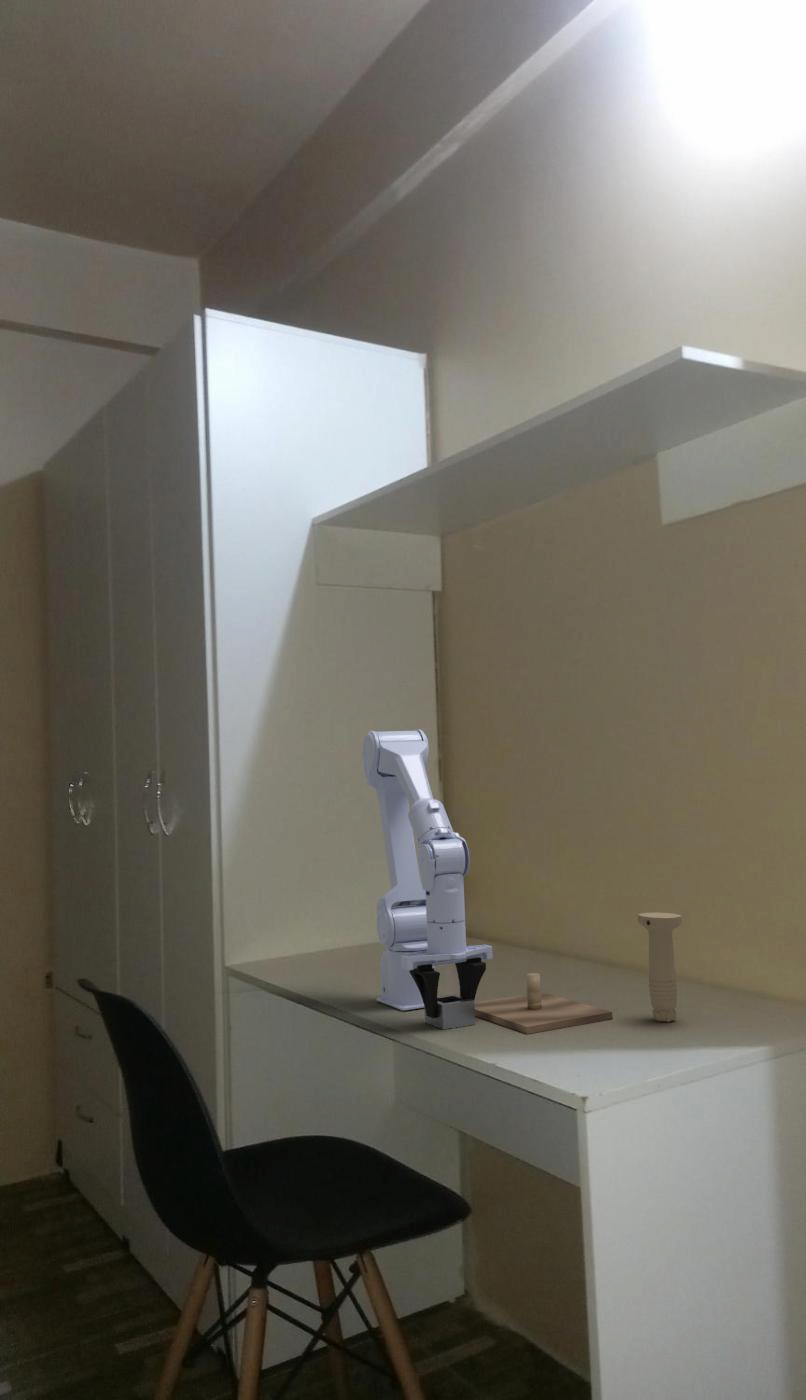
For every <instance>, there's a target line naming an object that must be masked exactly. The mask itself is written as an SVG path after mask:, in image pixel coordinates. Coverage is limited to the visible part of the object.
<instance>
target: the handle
mask: <svg viewBox="0 0 806 1400" xmlns="http://www.w3.org/2000/svg"><path fill="white" fill-rule="evenodd" d="M637 922H638V923H639V924H640V925H641V926H642V927H644V928H645V929H646V930H647V931H648V932H647V933H648V949H649V950H648V983H649V984H648V988H649V997H650V1003H651V1007H652V1008H653V1009H652V1010H651V1011H652V1015H653V1019H654V1020H655V1021H657V1022H666V1023H670V1022H673V1021H676V1020H677V1011H676V1008H677V1006H678V1005H677V1003H678V982H677V981H678V980H677V970H676V969H677V968H676V961H675V953H674V952H675V951H674V941H673V931H674V930H675V929H677V928H679V927H680V926H681V925H682V923H683V922H682V915H680V914H678V913H671V912H655V911H654V912H643V913H638V914H637Z"/></svg>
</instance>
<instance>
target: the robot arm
mask: <svg viewBox="0 0 806 1400" xmlns="http://www.w3.org/2000/svg"><path fill="white" fill-rule="evenodd" d="M361 752H362V761H363V762H362V763H363V768H364V774H365V778H366V783H367V785H368V786H370V787H372V788H374V789H375V790H376V795H377V800H378V807H379V812H380V813H379V814H380V818H381V828H382V832H383V835H382V836H383V840H384V847H385V848H384V849H385V855H386V863H387V869H388V870H387V871H388V876H389V882H390V883H389V884H390V888H389V889H388V890H387V891H386V892H385V893H384V894H383V895H382V896H381V897H380V898H379V900H378V902H377V903H376V933H377V937H378V940H379V942H380V944H382V946H383V947H384V948H385V950H384V951H383V953H382V955H381V957H380V962H379V963H380V965H379V967H380V991H381V996H378V997H377V998H376V1002H380V1003H382V1004H383V1005H386V1006H390V1007H392V1008H395V1009H398V1010H400V1011H410V1010H416V1009H422V1008H423V1009H424V1011H425V1010H426V1015H427V1016H428V1017H431V1018H437V1014H438V1001H437V997H438V993H439V992H438V991H439V981H440V976H441V973H440V972H439V971H437V970H435V967H436V966H443V965H451V964H455V968H456V972H457V976H458V977H457V978H458V984H459V995H460V996H463V997H466V998H469V999H472V1000H474V1001H475V999H476V995H477V992H478V991H477V990H478V988H479V984H480V982H481V980H482V978H483V976H484V974H485V972H486V970H487V962H484V961H482V960H493V957H494V956H493V946H492V945H489V944H480V945H479V944H478V945H477V944H475V945H467V934H466V933H467V932H466V931H467V930H466V909H465V908H466V907H465V884H464V882H465V881H464V880H465V879H464V877H465V876H467V875H468V872H469V870H470V866H471V865H470V864H471V863H470V861H471V860H470V850H469V848H468V847H469V846H468V844H467V841H466V840H465V838H464V837H462V836H460V834H459V832H454V829H453V827H452V825H451V822H450V819H449V817H448V814H447V812H446V811H447V810H446V809H445V806H444V804H443V803H442V802H441V801H440V800H438V799H434V797H433V796H434V795H433V792H432V789H431V786H430V785H431V784H430V782H429V778H428V773H427V770H426V767H427V763H428V758H429V753H430V746H429V739H428V737H427V735H426V734H425V732H424V731H423V730H422V729H415V730H394V731H393V730H391V731H389V730H388V731H387V730H386V731H375V730H369V731H368V732H367V734H365V736H364V739H363V743H362V751H361ZM409 804H410V805H409ZM410 806H411V808H410ZM414 837H415V838H414ZM415 840H416V843H417V845H418V852H416V851H417V850H416V844H415ZM417 853H418V855H417ZM424 1006H425V1008H424Z"/></svg>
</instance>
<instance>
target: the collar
mask: <svg viewBox="0 0 806 1400" xmlns="http://www.w3.org/2000/svg"><path fill="white" fill-rule="evenodd" d="M437 1001H438V1014H437V1018H431V1017H428V1016H427V1015H426V1010H425V1006H424V1007H423V1009H424V1023H425V1022H426V1023H425V1024H427V1023H428V1024H427V1025H429V1024H431V1025H430V1026H432V1025H433V1027H435V1028H437V1027H438V1029H440V1028H441V1029H440V1030H442V1029H446V1030H450V1029H449V1028H451V1029H456V1027H457V1028H463V1027H468V1026H475V1025H476V1016H475V1004H474V1002H475V1000H472V999H469V998H466V997H463V996H460V994H457V993H455V994H454V993H453V994H448V995H440V996H437Z"/></svg>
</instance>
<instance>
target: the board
mask: <svg viewBox="0 0 806 1400" xmlns="http://www.w3.org/2000/svg"><path fill="white" fill-rule="evenodd" d="M525 976H526V991H527V993H526V994H520V995H514V996H513V995H512V996H508V997H507V996H506V997H501V998H494V999H487V1000H481V1001H474V1004H475V1017H477V1018H480V1019H483V1020H486V1021H488V1022H492V1023H494V1024H497V1025H500V1026H503V1027H506V1028H509V1029H512V1030H514V1031H518V1032H520V1033H522V1034H526V1035H529V1034H535V1033H542V1032H547V1031H551V1030H552V1031H553V1030H557V1029H563V1028H569V1027H574V1026H580V1025H581V1026H582V1025H584V1024H585V1025H586V1024H590V1023H598V1022H603V1021H607V1020H613V1012H612V1011H611V1010H607V1009H603V1008H600V1007H596V1006H593V1005H590V1004H589V1005H588V1004H586V1003H582V1002H578V1001H575V1000H572V999H567V998H564V997H560V996H557V995H554V994H550V993H547V992H543V991H541V974H540V973H537V972H534V973H533V972H532V973H531V972H530V973H529V972H528V973H527V974H526V975H525Z"/></svg>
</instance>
